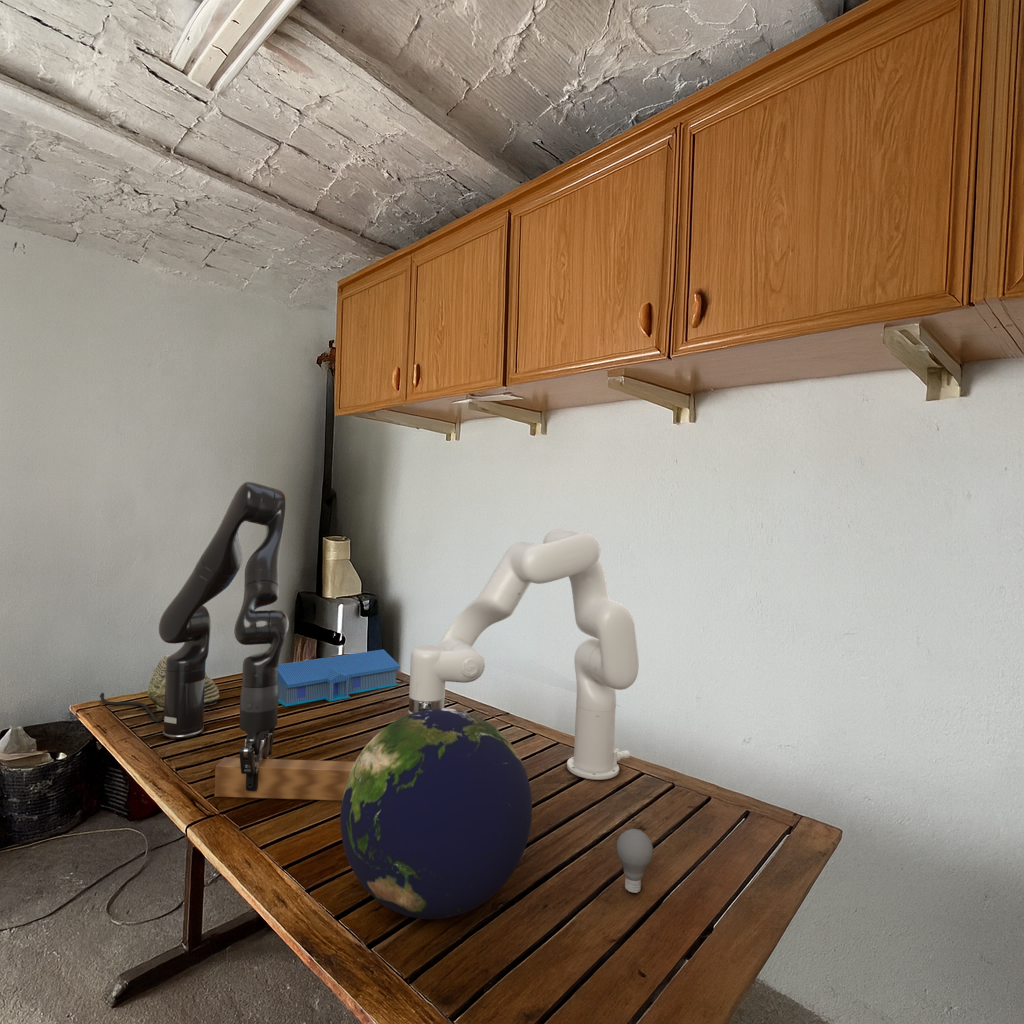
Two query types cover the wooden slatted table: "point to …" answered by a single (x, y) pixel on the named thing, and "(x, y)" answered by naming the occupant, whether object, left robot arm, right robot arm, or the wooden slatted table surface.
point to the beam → (284, 779)
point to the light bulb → (634, 857)
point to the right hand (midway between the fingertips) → (423, 789)
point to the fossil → (158, 687)
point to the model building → (335, 677)
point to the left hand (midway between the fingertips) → (256, 784)
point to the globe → (436, 813)
